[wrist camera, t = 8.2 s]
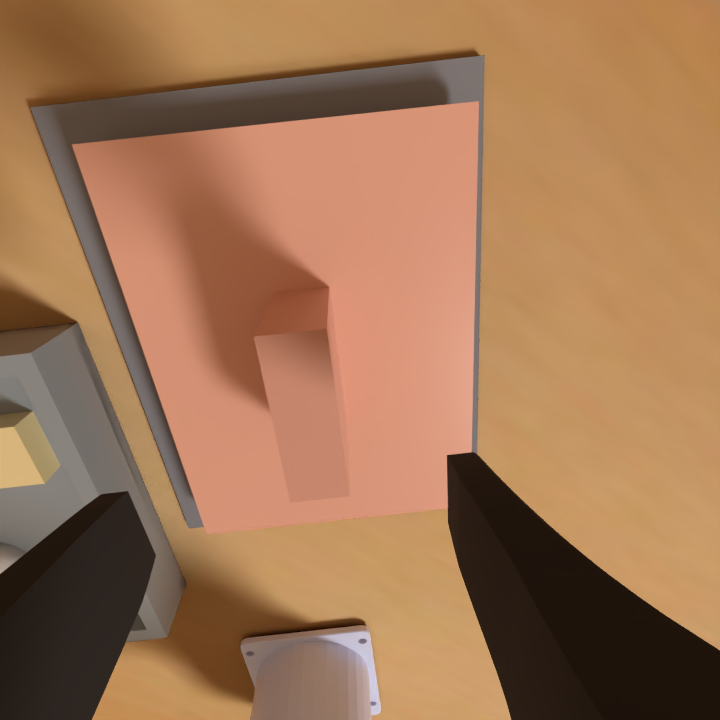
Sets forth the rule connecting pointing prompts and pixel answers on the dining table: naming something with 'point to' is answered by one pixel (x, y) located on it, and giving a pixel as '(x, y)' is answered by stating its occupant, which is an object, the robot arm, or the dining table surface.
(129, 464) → the tub
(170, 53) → the dining table surface
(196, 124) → the mat
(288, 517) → the lid
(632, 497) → the dining table surface
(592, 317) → the dining table surface
